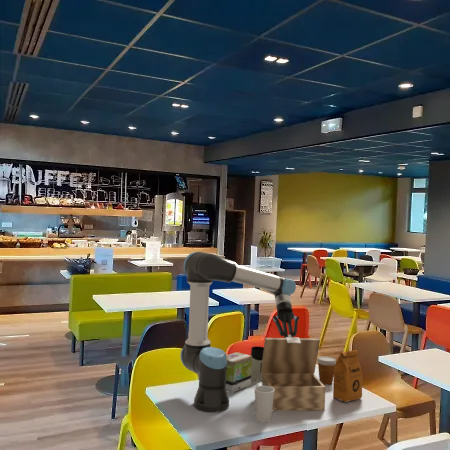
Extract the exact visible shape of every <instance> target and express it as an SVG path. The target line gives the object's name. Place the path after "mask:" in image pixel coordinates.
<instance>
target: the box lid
mask: <svg viewBox="0 0 450 450" xmlns="http://www.w3.org/2000/svg"><path fill="white" fill-rule="evenodd" d="M320 341H321V339H320V338H309V337H308V338H307V337H306V338H305V337H304V338H302V337H301V338H300V337H296V336H293V337H286V338H284V337H265V338H264V342H263V343H264V344H263V347H264V351H263V359H262V367H261V373H313V374H315V371H316V368H317V367H316V366H317V362H318V361H317V360H318V354H319V349H320Z"/></svg>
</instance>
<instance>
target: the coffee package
mask: <svg viewBox="0 0 450 450" xmlns="http://www.w3.org/2000/svg"><path fill="white" fill-rule="evenodd" d="M358 354H359V350H357V349H355V350H350V351H349V350H348V351H347V350H346V351H344V352H343V351H342V352H340V353H339V355H338V356H337V357H338V358H337V359H336V363H335V368H334V376H333V382H332V385H333V389H332V391H333V392H332V397H333V399H337V400H340V401H341V402H345V403H347V402H353V401H357V400H361V399H362V397H363V380H364V379H363V377H364V376H363V370H362V367H361V364H360V362H359V359H358V356H357V355H358Z"/></svg>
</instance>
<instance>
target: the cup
mask: <svg viewBox="0 0 450 450" xmlns="http://www.w3.org/2000/svg"><path fill="white" fill-rule="evenodd" d="M273 397H274V388H272V387H269V386H262V385H258V386H255V387H254V403H255V405H254V408H255V409H254V410H255V420H256V421H258V422H262V423H269V422H271V421H272V413H273V411H272V406H273ZM268 421H269V422H268Z"/></svg>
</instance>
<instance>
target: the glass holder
mask: <svg viewBox="0 0 450 450" xmlns="http://www.w3.org/2000/svg"><path fill="white" fill-rule="evenodd" d="M250 349H251V351H250V356H252V370H251V381H252V380H253V381H262V373H261V367H262V359H263V351H264V346H259V345H257V346H252V347H251V348H250Z"/></svg>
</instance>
